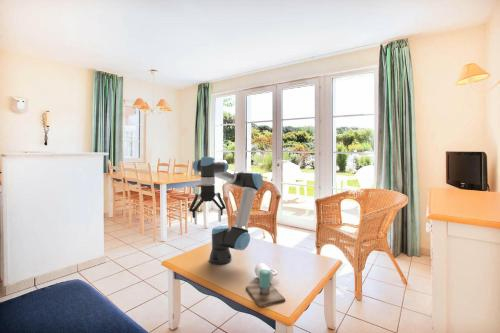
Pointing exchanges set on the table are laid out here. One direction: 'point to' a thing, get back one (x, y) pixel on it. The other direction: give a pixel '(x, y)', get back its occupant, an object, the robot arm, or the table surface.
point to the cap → (264, 278)
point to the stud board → (265, 295)
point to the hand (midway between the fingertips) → (207, 222)
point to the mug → (264, 267)
